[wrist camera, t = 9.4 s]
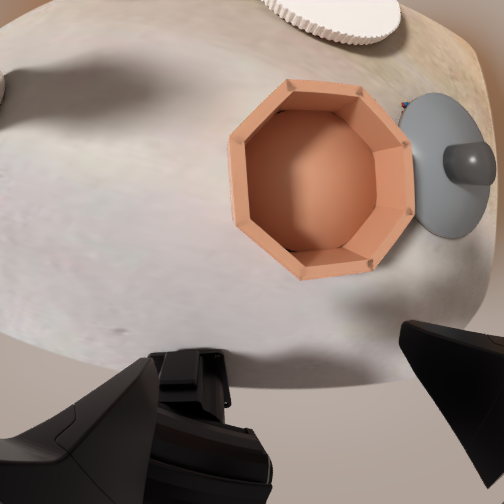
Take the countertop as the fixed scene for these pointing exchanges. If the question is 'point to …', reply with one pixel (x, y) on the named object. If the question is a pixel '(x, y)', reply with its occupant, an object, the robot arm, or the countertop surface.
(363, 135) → the bowl
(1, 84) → the plastic bottle
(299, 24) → the plastic lid
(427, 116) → the cover
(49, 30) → the countertop surface
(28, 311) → the countertop surface
